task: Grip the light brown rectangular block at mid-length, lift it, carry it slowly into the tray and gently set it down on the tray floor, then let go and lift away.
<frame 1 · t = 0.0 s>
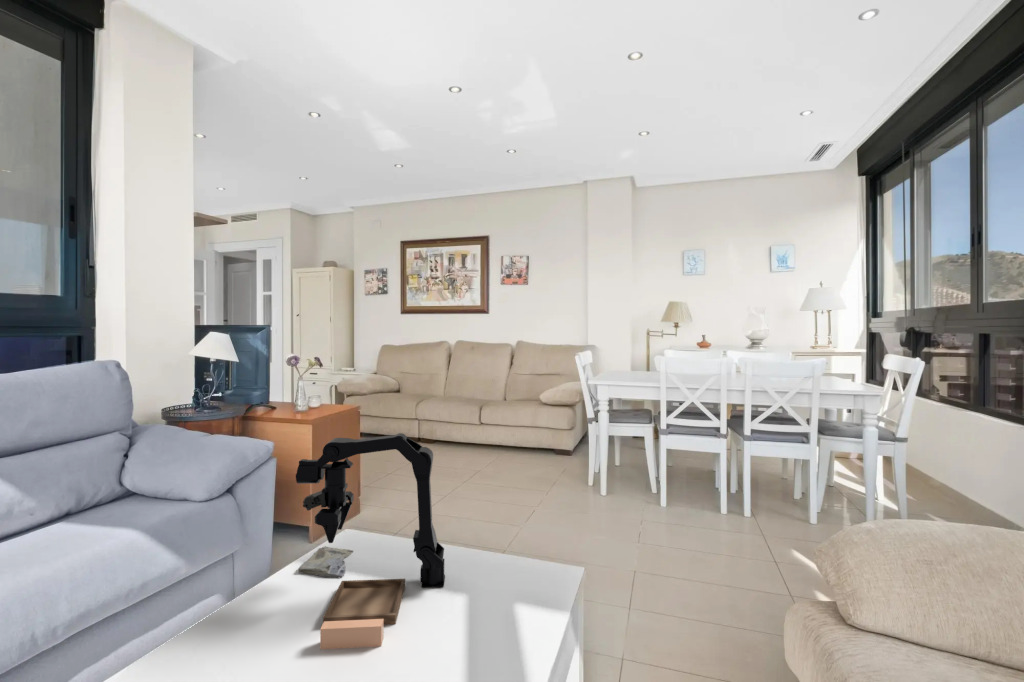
hand: (335, 535, 142), 15 cm above the table, fingers open, 9 cm apart
fossil rock: (329, 565, 155), on the table
light brown rectangular block: (352, 644, 116), on the table
tray: (367, 605, 132), on the table
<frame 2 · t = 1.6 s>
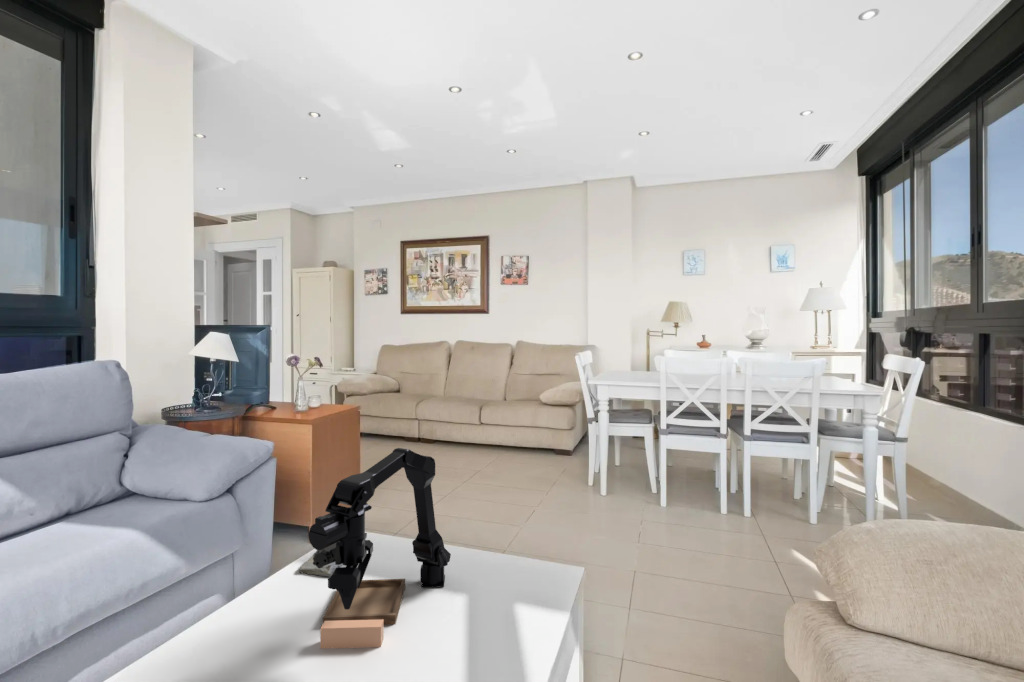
hand: (352, 598, 116), 11 cm above the table, fingers open, 9 cm apart
nothing on the table moved.
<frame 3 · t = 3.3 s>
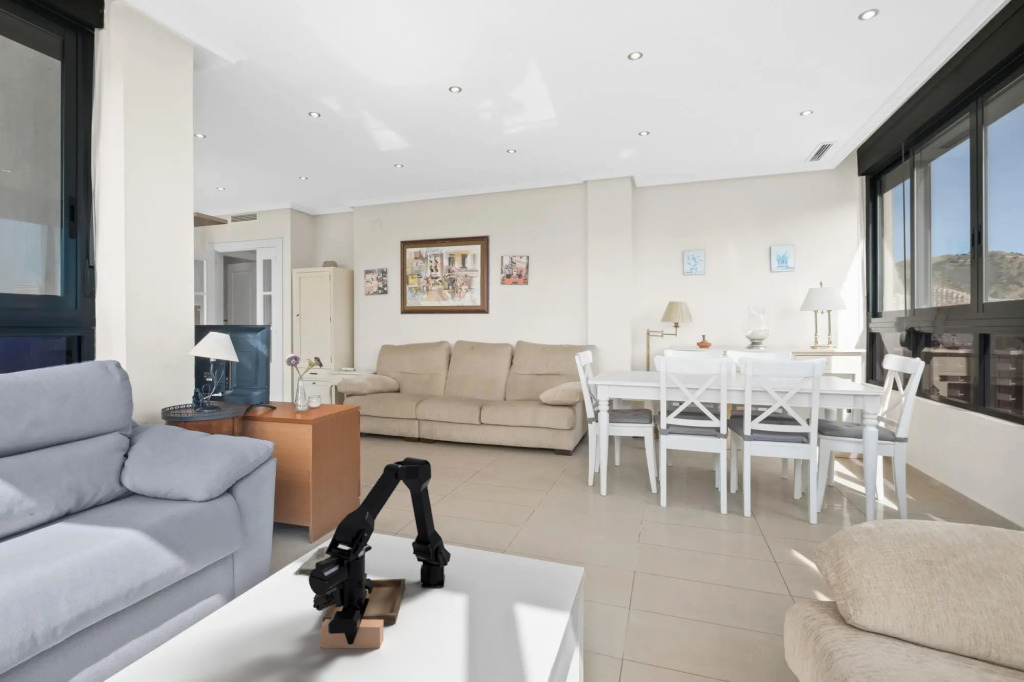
hand: (352, 639, 116), 1 cm above the table, fingers closed on light brown rectangular block, 3 cm apart
light brown rectangular block: (352, 643, 116), on the table, touching gripper
everything else where it was.
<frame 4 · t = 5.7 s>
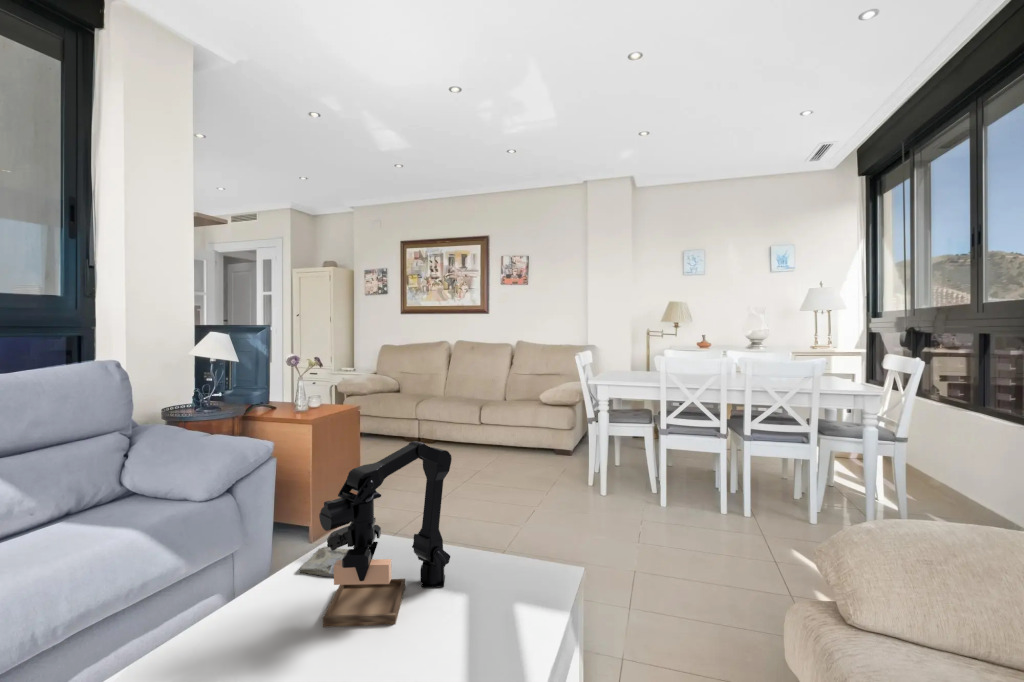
hand: (363, 577, 126), 11 cm above the table, fingers closed on light brown rectangular block, 3 cm apart
light brown rectangular block: (363, 581, 126), point 10 cm above the table, touching gripper
everything else where it was.
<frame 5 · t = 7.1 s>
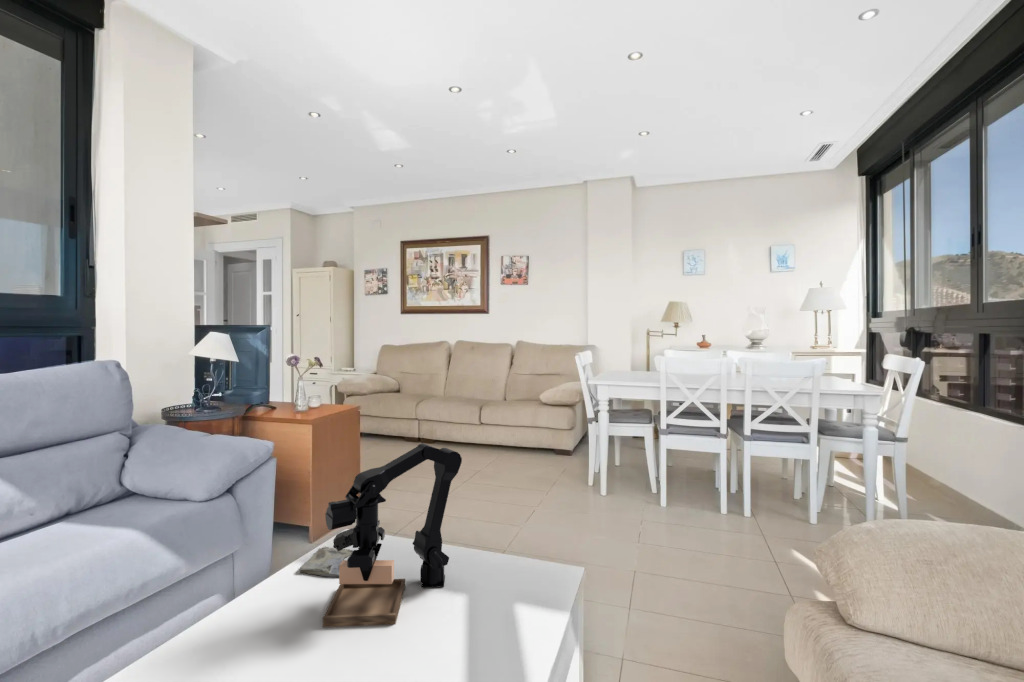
hand: (367, 577, 132), 8 cm above the table, fingers closed on light brown rectangular block, 3 cm apart
light brown rectangular block: (367, 581, 132), point 7 cm above the table, touching gripper
everything else where it was.
when the fingers open (3 cm above the table, at t = 8.3 s): light brown rectangular block drops 1 cm, resting on tray.
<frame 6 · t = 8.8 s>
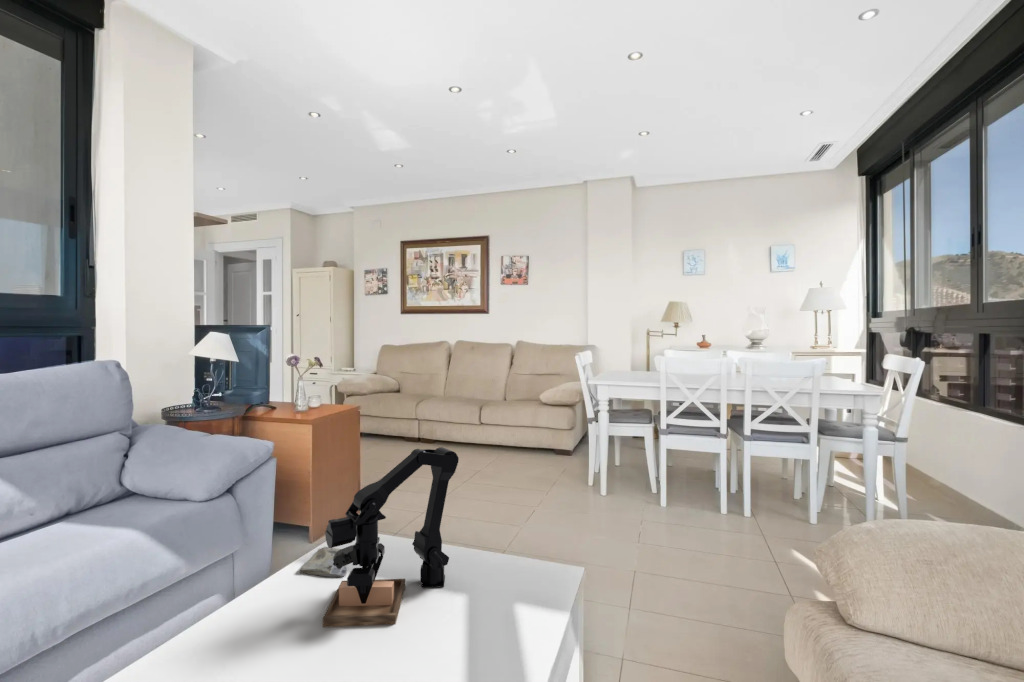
hand: (367, 594, 132), 3 cm above the table, fingers open, 8 cm apart
light brown rectangular block: (366, 602, 132), point 1 cm above the table, touching tray
everything else where it was.
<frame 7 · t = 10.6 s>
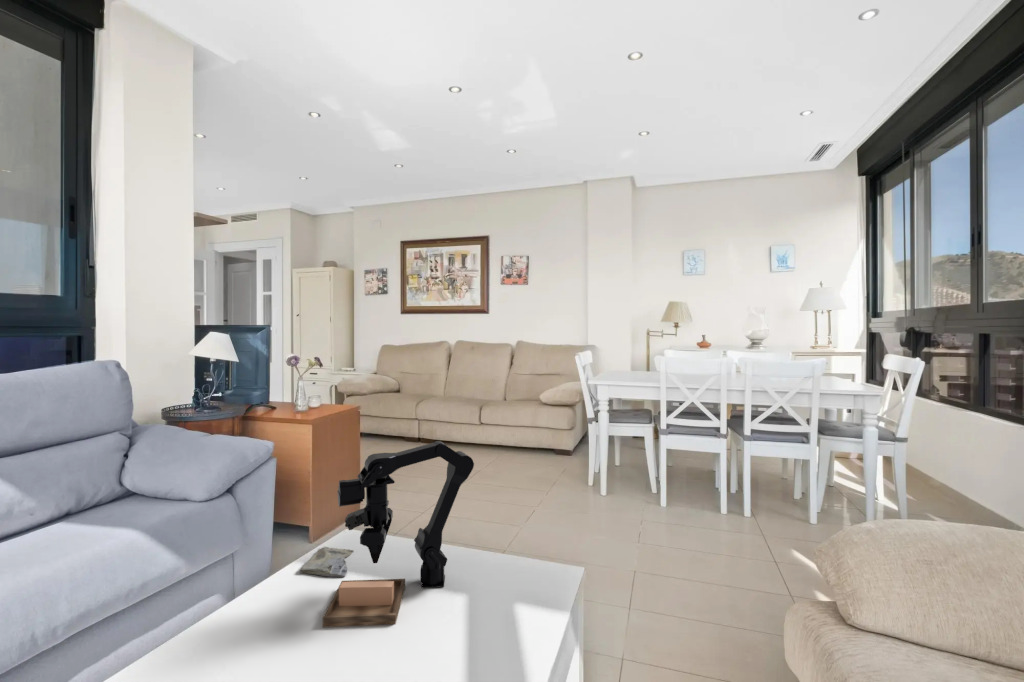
hand: (377, 555, 137), 11 cm above the table, fingers open, 9 cm apart
nothing on the table moved.
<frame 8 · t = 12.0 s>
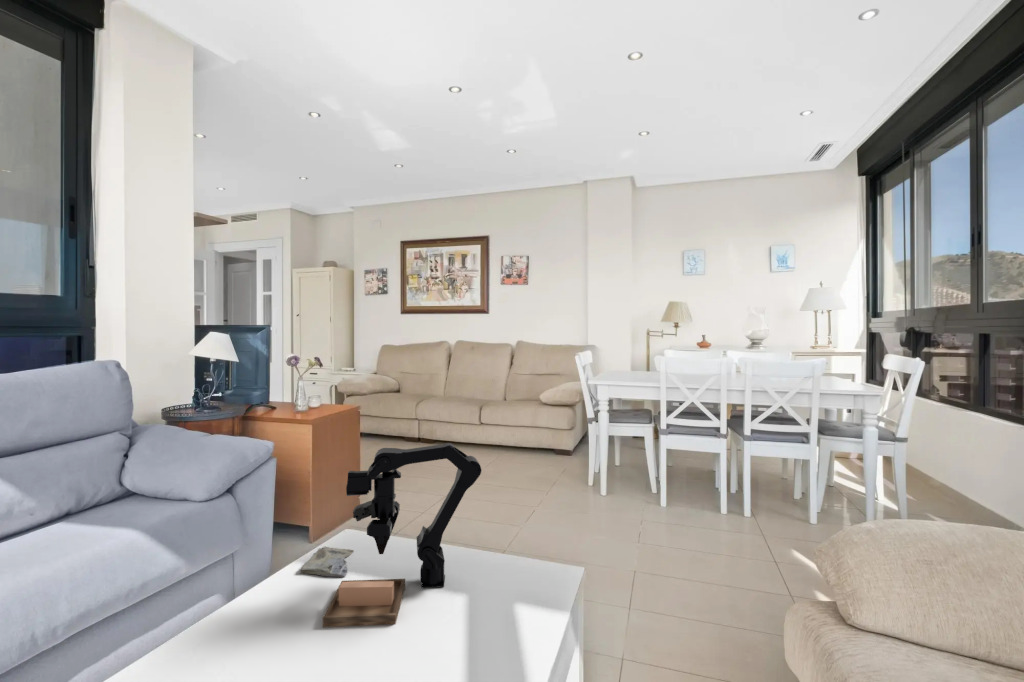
hand: (384, 546, 141), 12 cm above the table, fingers open, 9 cm apart
nothing on the table moved.
at the end: light brown rectangular block inside the target area on the tray (0.0 cm from its centre), point 0.8 cm above the tray's base; light brown rectangular block tilted 0°; the gripper is holding nothing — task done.
